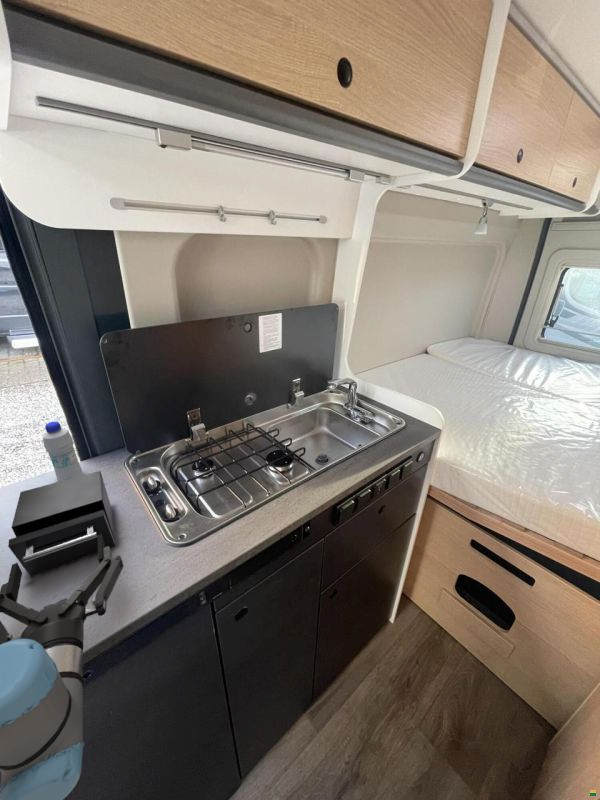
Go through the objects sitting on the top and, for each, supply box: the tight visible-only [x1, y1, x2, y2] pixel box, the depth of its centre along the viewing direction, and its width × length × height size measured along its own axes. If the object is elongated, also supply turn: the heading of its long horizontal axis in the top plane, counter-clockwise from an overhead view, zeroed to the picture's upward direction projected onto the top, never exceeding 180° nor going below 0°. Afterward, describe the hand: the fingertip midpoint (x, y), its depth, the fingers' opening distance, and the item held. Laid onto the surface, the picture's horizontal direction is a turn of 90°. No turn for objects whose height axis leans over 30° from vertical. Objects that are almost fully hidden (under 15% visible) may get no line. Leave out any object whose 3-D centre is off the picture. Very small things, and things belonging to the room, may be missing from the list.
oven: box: [11, 470, 116, 541], centre depth 77 cm, size 12×16×13 cm
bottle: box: [42, 421, 84, 482], centre depth 94 cm, size 7×7×20 cm
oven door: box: [7, 510, 116, 578], centre depth 69 cm, size 5×16×13 cm, turn 121°
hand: (61, 553), depth 64 cm, fingers open, 13 cm apart
